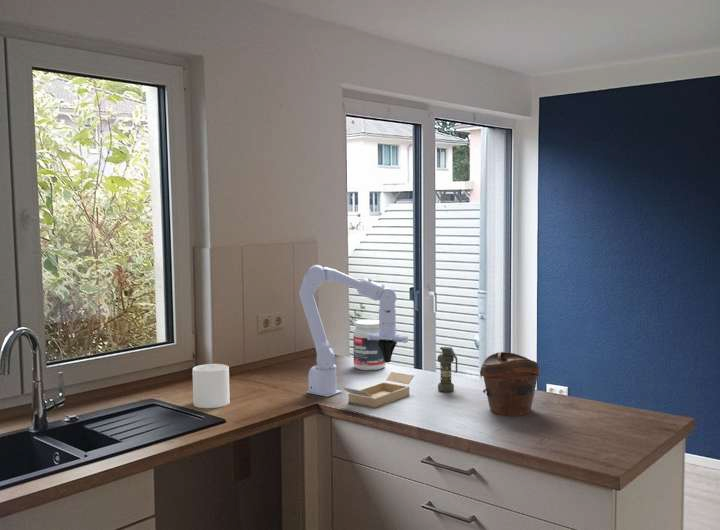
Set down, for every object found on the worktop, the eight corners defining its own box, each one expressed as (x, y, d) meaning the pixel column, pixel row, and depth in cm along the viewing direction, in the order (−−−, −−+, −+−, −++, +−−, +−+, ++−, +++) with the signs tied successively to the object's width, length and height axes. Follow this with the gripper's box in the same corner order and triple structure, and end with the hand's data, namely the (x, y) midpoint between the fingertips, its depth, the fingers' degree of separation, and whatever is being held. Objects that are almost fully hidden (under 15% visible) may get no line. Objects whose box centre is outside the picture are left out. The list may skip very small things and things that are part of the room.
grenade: (436, 392, 248) (435, 348, 247) (441, 387, 254) (440, 345, 253) (454, 393, 246) (454, 350, 245) (458, 389, 252) (458, 346, 250)
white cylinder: (237, 403, 238) (236, 367, 237) (207, 410, 229) (206, 373, 228) (215, 396, 246) (214, 362, 245) (186, 404, 237) (185, 368, 236)
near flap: (349, 391, 235) (348, 393, 235) (342, 387, 232) (342, 388, 232) (372, 396, 229) (371, 397, 229) (365, 391, 226) (365, 392, 226)
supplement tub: (351, 370, 282) (350, 324, 281) (356, 363, 295) (356, 319, 293) (383, 371, 280) (383, 324, 279) (387, 364, 293) (387, 319, 291)
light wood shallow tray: (348, 402, 236) (348, 393, 236) (383, 390, 251) (383, 382, 251) (375, 408, 229) (375, 398, 229) (409, 395, 244) (409, 386, 244)
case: (499, 398, 239) (499, 344, 237) (553, 410, 225) (553, 353, 223) (466, 410, 227) (465, 353, 225) (521, 423, 212) (521, 363, 211)
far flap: (391, 371, 253) (391, 372, 253) (385, 379, 251) (386, 380, 251) (413, 375, 247) (414, 376, 247) (408, 383, 245) (408, 384, 245)
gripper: (363, 323, 248) (363, 362, 249) (401, 325, 241) (402, 366, 242) (372, 320, 254) (372, 358, 255) (410, 322, 247) (410, 361, 248)
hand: (387, 361), depth 249 cm, fingers closed
